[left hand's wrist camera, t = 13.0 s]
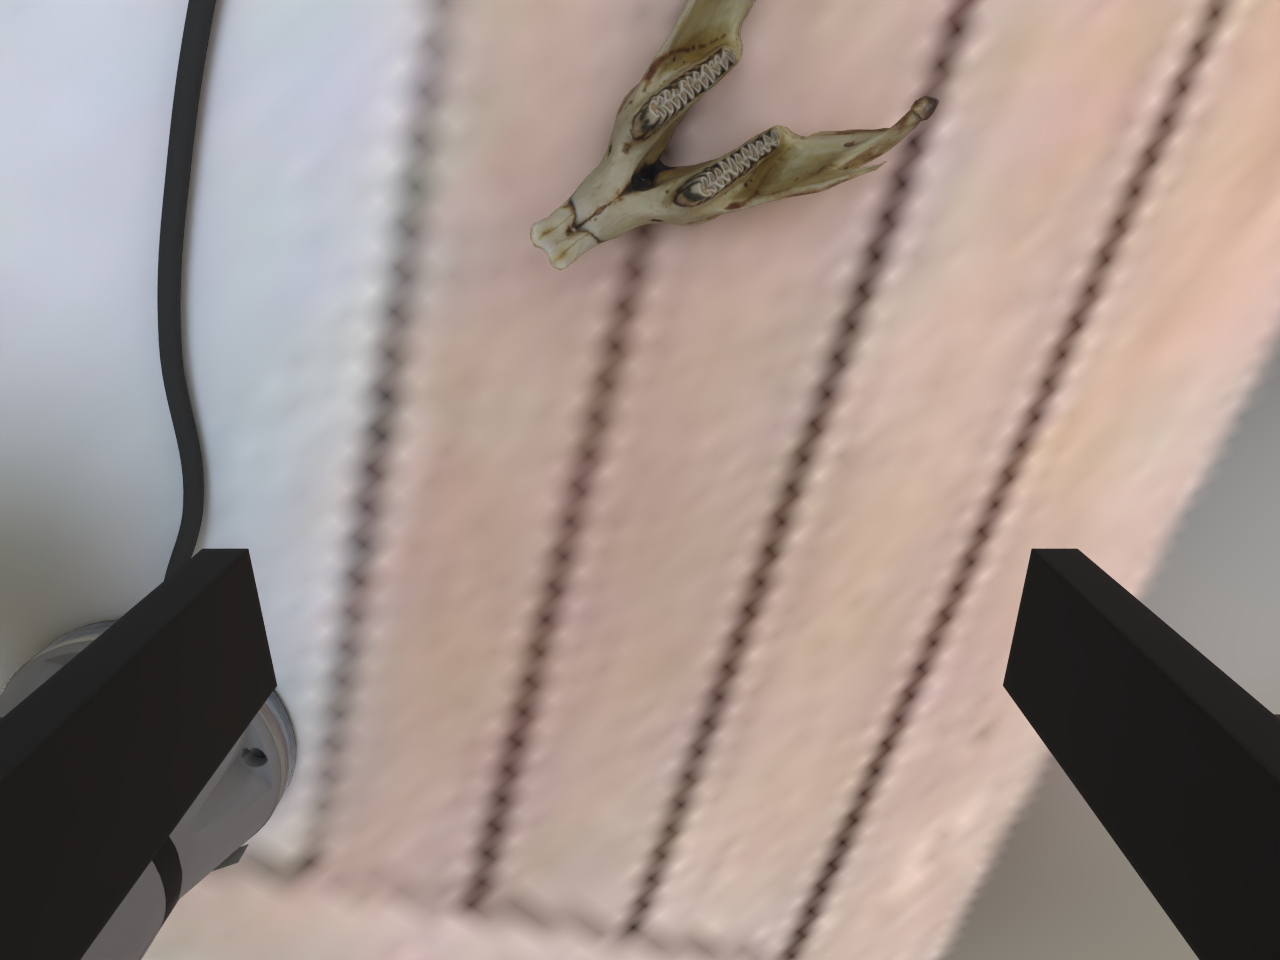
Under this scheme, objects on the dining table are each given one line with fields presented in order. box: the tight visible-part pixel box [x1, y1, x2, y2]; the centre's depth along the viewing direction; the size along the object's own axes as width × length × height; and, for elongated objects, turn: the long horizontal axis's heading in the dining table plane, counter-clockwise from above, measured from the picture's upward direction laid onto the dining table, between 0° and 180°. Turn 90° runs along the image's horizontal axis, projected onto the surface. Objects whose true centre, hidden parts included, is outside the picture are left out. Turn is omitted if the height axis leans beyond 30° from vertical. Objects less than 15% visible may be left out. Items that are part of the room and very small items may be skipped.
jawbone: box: [530, 0, 939, 270], centre depth 28 cm, size 9×15×10 cm
